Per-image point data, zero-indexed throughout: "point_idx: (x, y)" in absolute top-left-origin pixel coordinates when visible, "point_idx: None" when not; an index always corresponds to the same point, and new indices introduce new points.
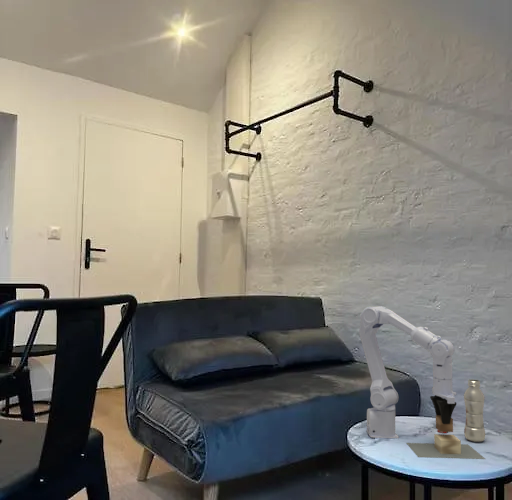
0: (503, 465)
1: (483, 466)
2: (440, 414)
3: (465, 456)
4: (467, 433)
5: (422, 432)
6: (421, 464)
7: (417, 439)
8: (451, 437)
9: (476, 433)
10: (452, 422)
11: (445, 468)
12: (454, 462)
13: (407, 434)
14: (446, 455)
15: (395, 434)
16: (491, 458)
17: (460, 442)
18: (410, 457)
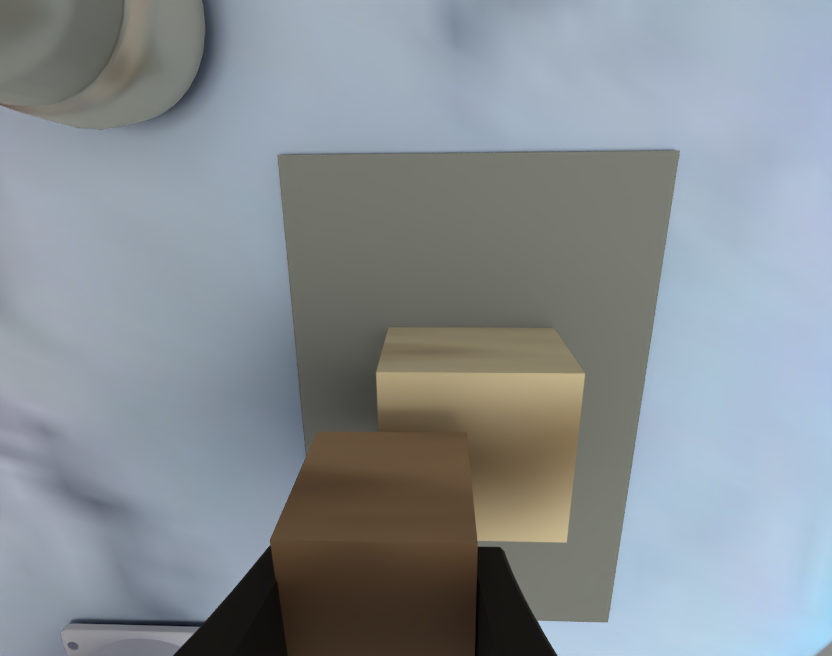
0: (823, 32)
1: (814, 240)
2: (280, 647)
3: (607, 310)
4: (136, 116)
5: (3, 431)
6: (714, 627)
7: (205, 516)
8: (472, 422)
9: (172, 15)
10: (473, 511)
11: (803, 521)
12: (701, 427)
13: (98, 548)
14: (580, 444)
15: (163, 640)
16: (634, 70)
17: (579, 368)
18: (589, 649)
